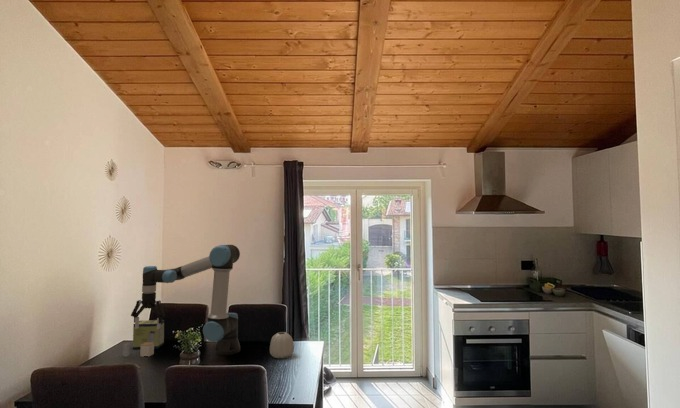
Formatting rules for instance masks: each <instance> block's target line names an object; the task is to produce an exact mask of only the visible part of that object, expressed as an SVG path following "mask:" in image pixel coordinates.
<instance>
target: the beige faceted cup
mask: <svg viewBox="0 0 680 408" xmlns="http://www.w3.org/2000/svg"><path fill="white" fill-rule="evenodd" d="M139 350H140V351H139V352H140V354H139V356H140V357H144V356H148V357H151V356H153V355H154V354H155V349H154V343H153V342H146V343H143V344H141V349H139Z"/></svg>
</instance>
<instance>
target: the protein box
mask: <svg viewBox="0 0 680 408" xmlns="http://www.w3.org/2000/svg"><path fill="white" fill-rule="evenodd" d="M132 329H133V330H132V332H133V334H132V350H140V349H141V344H143V343H146V342H153V343H154V350H155V349H156V350H158V349H159V348H160V347H162V346H163V345H164V344H165V340H164V339H165V319H162V323H161V327H160V329H158V330H157V319H153V320H152V319H151V320H139V328H137V329H135V323H133V328H132Z"/></svg>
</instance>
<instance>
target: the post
mask: <svg viewBox="0 0 680 408" xmlns="http://www.w3.org/2000/svg"><path fill="white" fill-rule="evenodd" d="M130 354H131V343H127V342H126V343H123V345H122V358H128V357H130Z"/></svg>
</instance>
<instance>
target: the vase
mask: <svg viewBox="0 0 680 408" xmlns="http://www.w3.org/2000/svg"><path fill="white" fill-rule="evenodd" d="M269 344H270V345H269V354H270V355H271V356H272V357H273V358H276V359H287V358H290V357H291V356H292V354H293V353H294V352H295V351H294V350H295V347H294V346H295V345H294V340H293V337H292V336H291V335H290V334H289V333H287V332H285V331H280V332H277V333H275V334H274V335H273V336H272V337H271V340H270V342H269Z"/></svg>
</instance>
